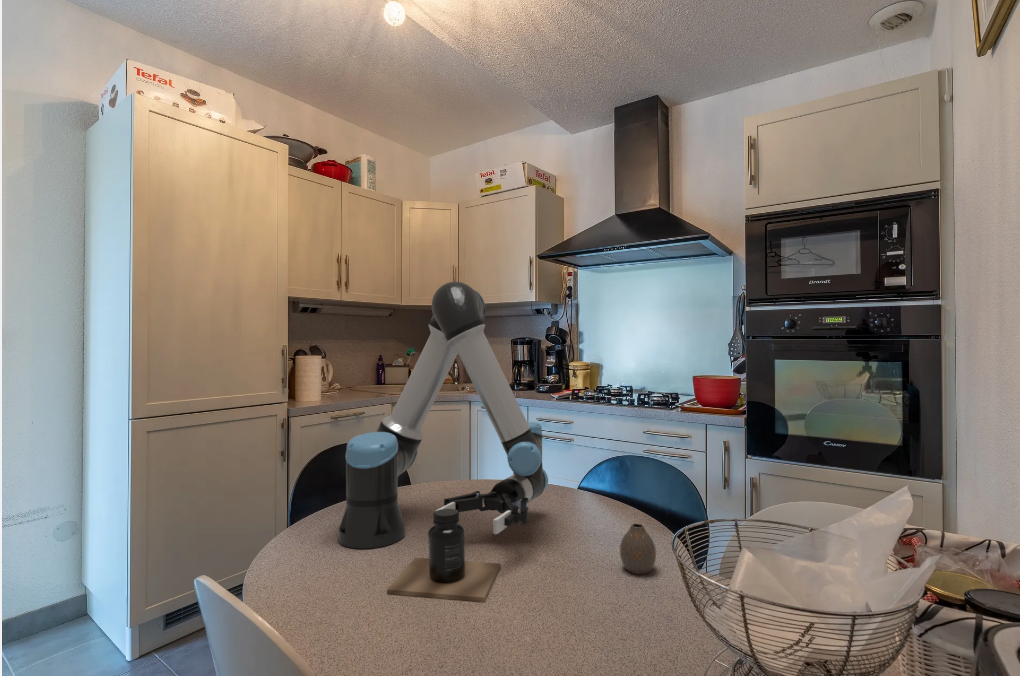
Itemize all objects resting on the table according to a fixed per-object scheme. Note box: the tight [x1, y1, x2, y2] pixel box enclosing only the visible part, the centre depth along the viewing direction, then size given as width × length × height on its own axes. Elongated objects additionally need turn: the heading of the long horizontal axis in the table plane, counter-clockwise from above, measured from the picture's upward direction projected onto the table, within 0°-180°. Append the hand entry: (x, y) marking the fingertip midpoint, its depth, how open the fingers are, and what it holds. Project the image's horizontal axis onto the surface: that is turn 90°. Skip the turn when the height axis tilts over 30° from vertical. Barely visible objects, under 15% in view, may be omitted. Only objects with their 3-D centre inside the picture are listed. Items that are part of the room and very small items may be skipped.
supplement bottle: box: [428, 509, 466, 583], centre depth 96 cm, size 7×7×12 cm
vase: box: [619, 522, 657, 575], centre depth 100 cm, size 7×7×9 cm
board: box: [386, 557, 502, 603], centre depth 96 cm, size 18×14×1 cm
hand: (464, 522), depth 102 cm, fingers open, 13 cm apart
